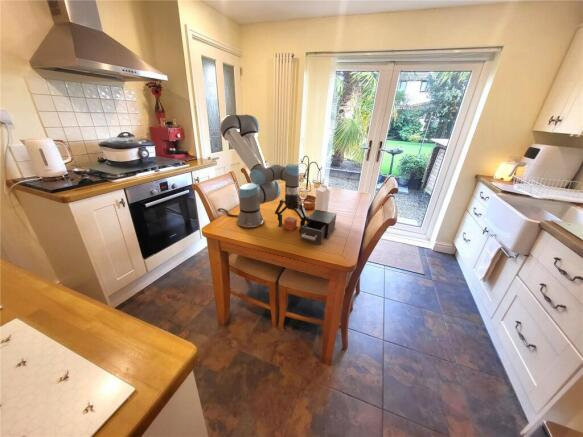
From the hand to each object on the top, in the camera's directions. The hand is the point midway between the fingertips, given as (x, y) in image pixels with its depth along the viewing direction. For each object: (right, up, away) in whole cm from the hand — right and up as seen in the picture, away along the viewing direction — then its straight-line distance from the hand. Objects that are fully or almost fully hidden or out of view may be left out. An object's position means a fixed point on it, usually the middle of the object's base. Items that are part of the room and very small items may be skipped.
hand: (290, 227), depth 137 cm
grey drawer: (+12, -5, -12) cm, 18 cm away
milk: (+19, +6, +15) cm, 25 cm away
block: (0, 0, 0) cm, 0 cm away
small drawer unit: (+17, -2, -2) cm, 17 cm away
